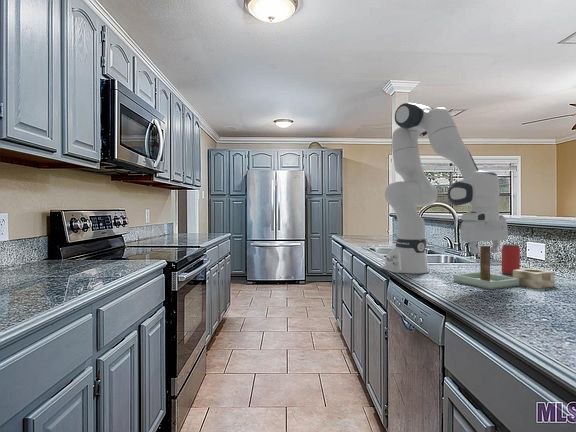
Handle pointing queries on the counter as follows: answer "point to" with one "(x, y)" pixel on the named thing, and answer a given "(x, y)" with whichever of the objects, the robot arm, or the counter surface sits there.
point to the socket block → (535, 278)
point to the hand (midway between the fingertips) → (484, 253)
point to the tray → (494, 282)
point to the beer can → (510, 258)
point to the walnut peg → (485, 263)
